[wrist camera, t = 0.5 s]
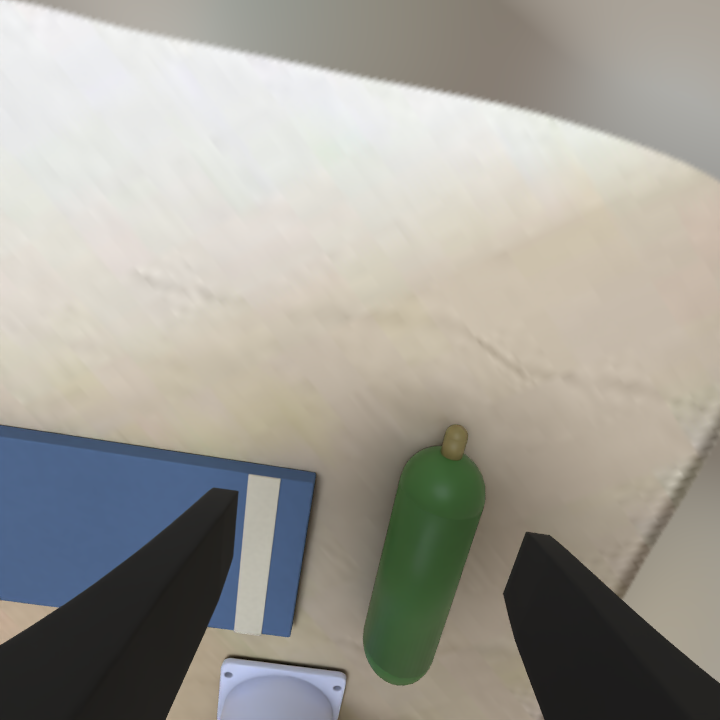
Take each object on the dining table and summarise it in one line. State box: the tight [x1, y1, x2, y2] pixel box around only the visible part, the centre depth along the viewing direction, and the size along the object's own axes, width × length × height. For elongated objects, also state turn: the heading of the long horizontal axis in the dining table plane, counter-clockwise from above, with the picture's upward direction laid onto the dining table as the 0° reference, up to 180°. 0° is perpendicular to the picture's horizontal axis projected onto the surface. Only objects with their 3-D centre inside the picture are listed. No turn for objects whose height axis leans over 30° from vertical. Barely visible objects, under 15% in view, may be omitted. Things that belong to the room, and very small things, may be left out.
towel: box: [0, 425, 316, 637], centre depth 21 cm, size 11×20×1 cm, turn 80°
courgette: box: [363, 425, 485, 686], centre depth 19 cm, size 15×4×4 cm, turn 170°
